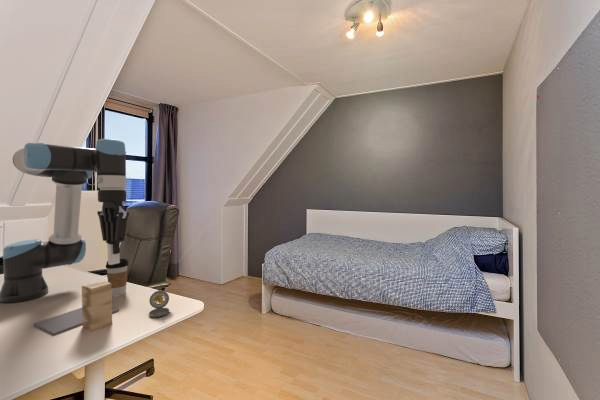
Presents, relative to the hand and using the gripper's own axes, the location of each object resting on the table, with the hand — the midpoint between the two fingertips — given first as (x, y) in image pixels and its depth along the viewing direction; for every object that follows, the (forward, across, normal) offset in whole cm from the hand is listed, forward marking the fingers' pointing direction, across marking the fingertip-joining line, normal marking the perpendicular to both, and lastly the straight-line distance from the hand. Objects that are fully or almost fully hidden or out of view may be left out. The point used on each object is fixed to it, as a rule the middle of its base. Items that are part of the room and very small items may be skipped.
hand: (114, 263), depth 90 cm
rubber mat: (+22, -22, 0) cm, 32 cm away
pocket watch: (+23, 0, +16) cm, 28 cm away
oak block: (+22, -10, 0) cm, 25 cm away
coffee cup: (+22, -33, +20) cm, 45 cm away
